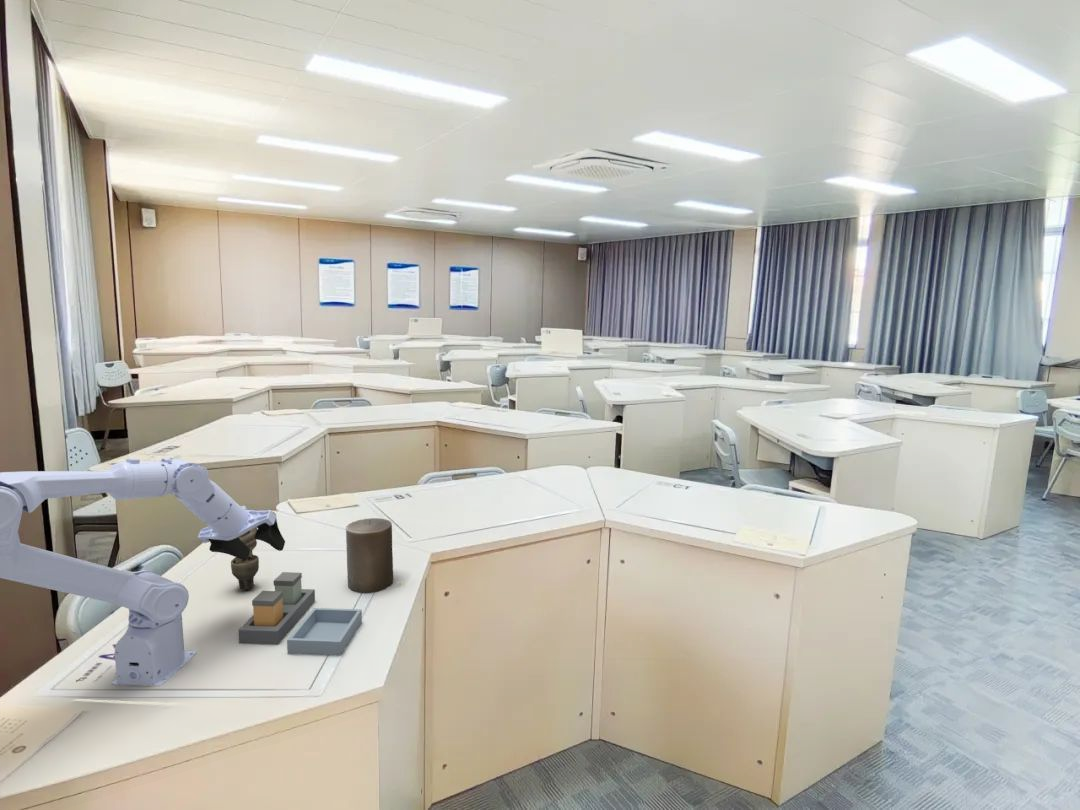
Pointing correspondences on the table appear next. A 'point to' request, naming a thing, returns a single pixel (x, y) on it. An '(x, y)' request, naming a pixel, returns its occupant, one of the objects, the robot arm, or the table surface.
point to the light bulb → (246, 562)
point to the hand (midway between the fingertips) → (264, 550)
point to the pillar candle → (369, 555)
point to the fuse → (289, 587)
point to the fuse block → (276, 634)
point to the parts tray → (325, 631)
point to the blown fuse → (268, 608)
